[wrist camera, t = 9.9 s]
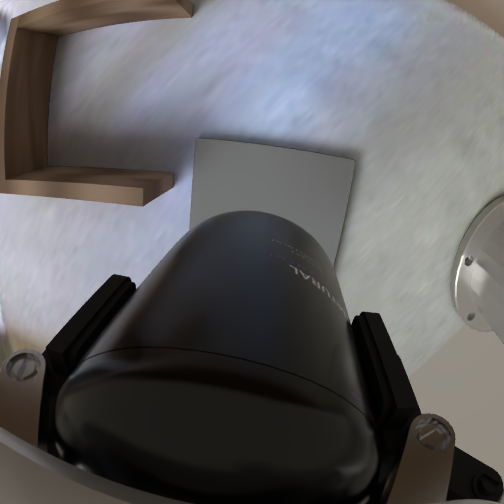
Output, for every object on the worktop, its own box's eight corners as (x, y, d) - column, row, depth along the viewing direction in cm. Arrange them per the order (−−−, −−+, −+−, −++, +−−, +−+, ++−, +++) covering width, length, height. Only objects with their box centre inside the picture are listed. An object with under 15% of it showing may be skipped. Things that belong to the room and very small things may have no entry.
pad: (353, 159, 19) (355, 160, 18) (323, 295, 23) (324, 300, 22) (198, 137, 19) (195, 138, 18) (189, 276, 23) (187, 279, 22)
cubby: (194, 5, 15) (169, -24, 11) (172, 187, 20) (142, 206, 16) (51, 28, 16) (11, 19, 11) (39, 177, 21) (-2, 193, 16)
